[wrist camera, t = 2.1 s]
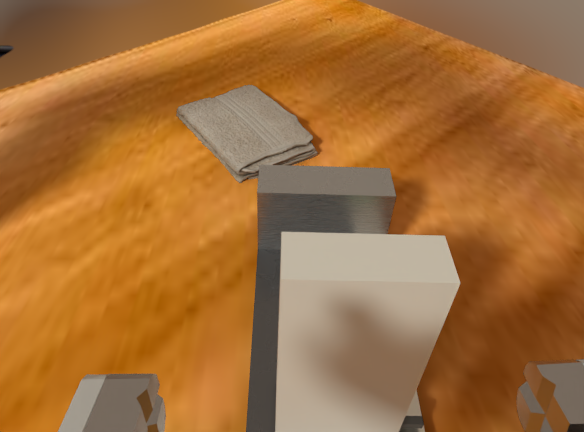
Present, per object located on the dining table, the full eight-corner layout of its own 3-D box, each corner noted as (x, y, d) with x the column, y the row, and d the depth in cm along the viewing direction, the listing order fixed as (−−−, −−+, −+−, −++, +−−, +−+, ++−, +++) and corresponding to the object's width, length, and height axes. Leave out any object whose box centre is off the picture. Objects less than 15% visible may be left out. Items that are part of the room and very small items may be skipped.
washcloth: (241, 191, 57) (241, 169, 55) (173, 119, 67) (170, 99, 65) (323, 158, 62) (325, 137, 60) (248, 97, 73) (247, 77, 70)
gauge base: (437, 531, 32) (476, 480, 26) (241, 529, 31) (236, 478, 26) (376, 214, 54) (390, 149, 48) (261, 211, 53) (260, 146, 48)
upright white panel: (431, 477, 32) (524, 321, 21) (274, 475, 32) (280, 316, 20) (409, 366, 38) (472, 197, 27) (276, 364, 38) (282, 192, 26)
